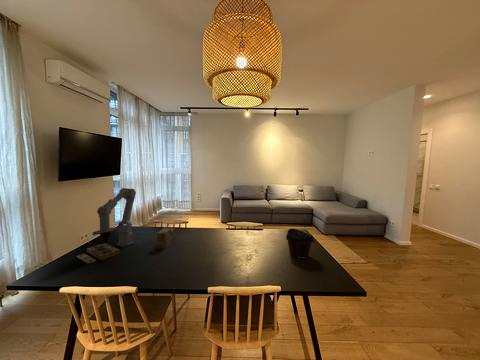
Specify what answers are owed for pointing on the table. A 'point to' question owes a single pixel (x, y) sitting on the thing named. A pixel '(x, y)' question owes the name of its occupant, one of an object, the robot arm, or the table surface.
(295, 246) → the black bin
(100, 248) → the button
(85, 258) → the pattern card
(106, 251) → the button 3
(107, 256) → the wooden tray
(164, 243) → the stack of blocks
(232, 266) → the table surface
